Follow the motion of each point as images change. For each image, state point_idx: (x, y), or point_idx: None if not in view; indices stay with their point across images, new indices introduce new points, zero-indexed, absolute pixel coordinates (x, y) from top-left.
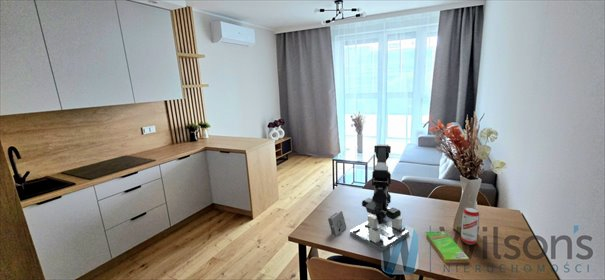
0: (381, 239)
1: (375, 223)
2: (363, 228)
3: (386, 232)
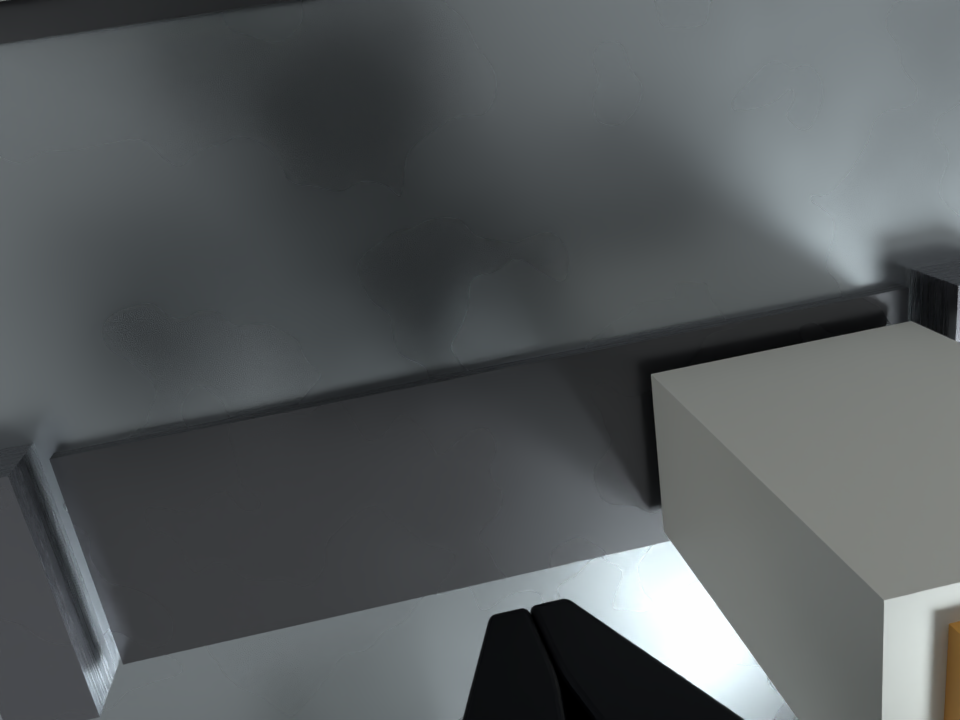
0: (43, 194)
1: (740, 532)
2: (919, 119)
3: (305, 593)
